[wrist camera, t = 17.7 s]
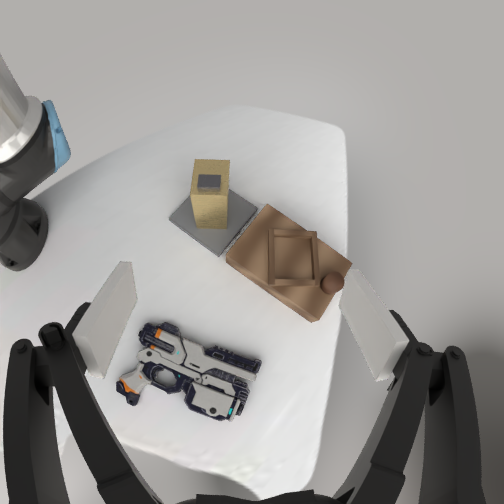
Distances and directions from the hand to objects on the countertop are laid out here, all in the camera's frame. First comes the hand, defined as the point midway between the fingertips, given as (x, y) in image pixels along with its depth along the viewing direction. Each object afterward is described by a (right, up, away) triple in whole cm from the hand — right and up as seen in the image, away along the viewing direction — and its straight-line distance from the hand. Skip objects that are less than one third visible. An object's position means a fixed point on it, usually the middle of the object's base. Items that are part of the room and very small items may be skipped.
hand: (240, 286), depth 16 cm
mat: (-6, +8, +32) cm, 34 cm away
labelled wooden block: (-6, +9, +31) cm, 33 cm away
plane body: (+6, 0, +30) cm, 31 cm away
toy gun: (-10, -18, +23) cm, 31 cm away
